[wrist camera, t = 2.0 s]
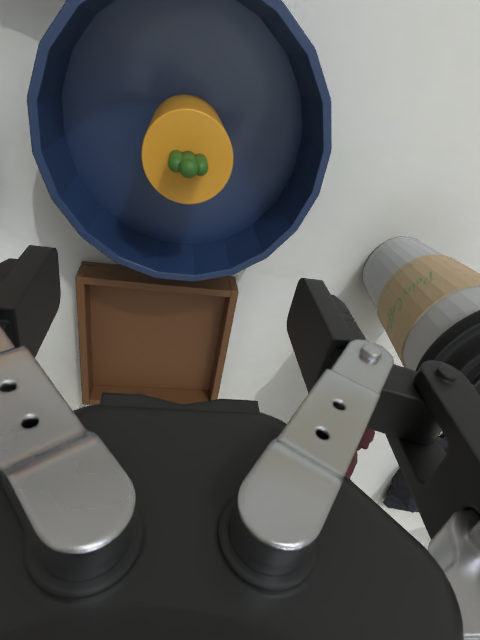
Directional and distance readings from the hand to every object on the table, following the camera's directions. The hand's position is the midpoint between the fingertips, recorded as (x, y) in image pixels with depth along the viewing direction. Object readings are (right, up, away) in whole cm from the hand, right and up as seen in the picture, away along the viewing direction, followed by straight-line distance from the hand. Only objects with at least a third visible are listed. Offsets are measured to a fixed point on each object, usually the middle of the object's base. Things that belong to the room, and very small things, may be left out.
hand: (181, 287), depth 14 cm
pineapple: (-2, +11, +13) cm, 17 cm away
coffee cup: (+16, +4, +22) cm, 27 cm away
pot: (-2, +12, +14) cm, 18 cm away
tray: (-5, -2, +23) cm, 23 cm away
